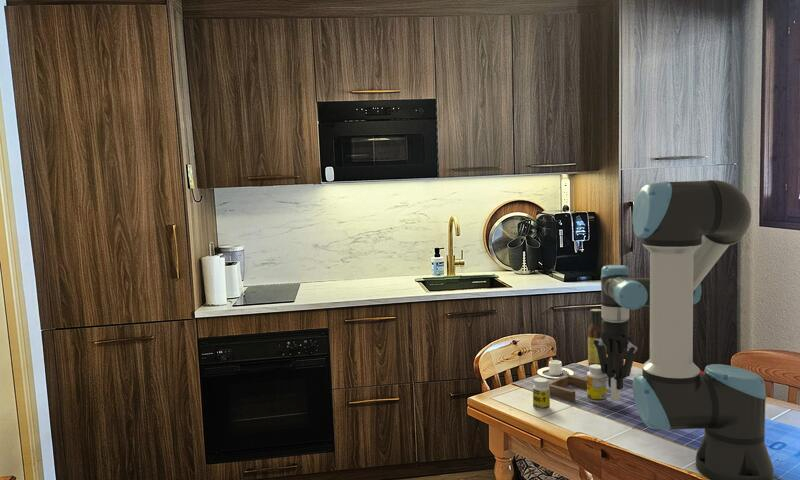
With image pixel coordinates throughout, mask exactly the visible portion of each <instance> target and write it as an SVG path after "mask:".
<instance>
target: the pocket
mask: <svg viewBox="0 0 800 480" xmlns="http://www.w3.org/2000/svg"><path fill="white" fill-rule="evenodd" d="M558 377H559V376H558ZM548 386H549V388H550V396H551V397H553V398H557V399H561V400H564V401H568V402H571V403H574V402H575V401H576V390H573V389H570V388H566V387H574V388H578V389H581V390H585V391H587V378H586V377H580V376H578V375H577V376H576V375H574V374H573V375H569V373H567V374H565V375H562V376H560V377H559V378H553V380H552V379H551V380H550V381H549V380H548Z"/></svg>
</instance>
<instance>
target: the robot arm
mask: <svg viewBox="0 0 800 480" xmlns="http://www.w3.org/2000/svg"><path fill="white" fill-rule="evenodd" d="M631 220H632V225H633V229H632V230H633V233H634V235H636V237H637V238H639V239H642V246H643V248H645V249H646V251H648V252H649V277H637V278H636V277H631V278H630V276H631V275H630V268H629V267H628V266H626V265H621V264H607V265H604V266H602V268H601V272H600V273H601V274H600V280H601V282H600V288H601V293H600V294H601V305H600V307H601V317H602V335H601V338H600V339H597V340H594V344H595V346H596V348H597V352H598V356H599V361H600V366H601V370H602V373H603V374H606V376H607V380H608V381H607V382H608V383H607V386H608V388H610V400H611V401H615V402H616V401H618V400H620V399H621V398H622V397H621V392H622V391H621V390H623V388H624V379H626V378H628V377H629V376H631V371H632V367H633V364H634V363H633V362H634V358H635V355H636V353H637V352H638V350H639V346H638V345H634V344H633V343H632V342H631V339H630V335H629V334H630V320H629V319H630V310H631V311H634V310H636V311H637V310H638V309H640V308H642V307H649V359H648V360H647V361H645V362H644V363H643V364H642V369H641V370H642V374H638V375H635V376H634V377H633V380H632V395H633V399H634V404H635V405H636V406H635V407H636V410H637V412H638V415H639V417H640V419H641V421H642V422H643V424H644V425H645V426H647V427H648V428H650V429H653V430H666V431H672V430H698V429H701V430H703V429H704V433H703V437H702V439H701V442H700V444H699V447H698V449H697V451H696V454H695V467H696V470H697V471H698V472H699V473H700V474H701V475H703V476H704V477H705V478H707V479H709V480H774V471H775V470H774V466H773V463H772V459H771V458H770V454H769V451H768V449H767V445H766V442H765V441H766V440H765V439H766V436H765V435H766V434H765V433H766V432H765V431H766V402H767V401H766V400H767V398H768V397H767V391H766V383H765V380H764V379H763V378H762V376H760V375H759V374H757V373H755V372H753V371H751V370H748V369H745V368H742V367H738V366H733V365H728V364H720V363H715V364H714V363H711V364H707V365H706V366H705V368H704V372H705V374H700V371H701V369H700V368H699V367H698V366H697V365H696V364H695V362H693V361H694V360H693V356H694V354H693V349H694V348H693V346H694V345H693V343H694V342H693V341H694V339H693V338H694V334H693V333H694V332H693V331H694V305H695V304H697V303H699V301H700V300H701V296H702V284H701V282H702V281H703V280H704V278H705V277H706V276H707V274H708V273H710V271H711V270H712V268H713V267H714V266H715V264H716V263H717V262H718V261H719V260H720V258H721V257H722V255H723V254H724V253H725V252H726V250H727V249H728V248H729V247H730V246H731V245H732V246H733V245H735V244H736V243H738V242H740V240H741V239H742V238H743V237H744V235H745V234H746V233H747V231H748V230H749V227H750V224H751V221H752V208H751V203H750V201H749V200H748V198H747V197H746V195H745V194H744V193H743V192H742V190H740V188H738V187H737V186H735V185H734V184H732V183H729V182H727V181H724V180H720V179H719V180H718V179H711V180H710V179H708V180H692V181H691V180H688V181H685V180H684V181H663V182H661V181H660V182H653V183H648V184H646V185H644V186H643V187H642V188H640V191H638V194H637V195H636V197H635V202H634V205H633V209H632V219H631ZM604 344H605V346H606V350H605V346H604ZM625 350H626V351H627V352H625ZM606 353H607V354H606ZM625 353H626V356H625Z"/></svg>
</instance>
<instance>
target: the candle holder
mask: <svg viewBox="0 0 800 480" xmlns="http://www.w3.org/2000/svg"><path fill="white" fill-rule="evenodd" d="M563 370H565V371H564V372H566V371H567V372H566V373H567V374H569V375H573V376H574V375H575V372H574V371H573V370H571V369H569V368H565V367H563V363H562V361H561V360H558V359H553V360H550V361H548V366H545V367H542V368H539V369H537V371H536V373H537V374H538V375H539V376H541V377H543V378H547V379H557V378H559V376H561V375H562V374H563V372H562V371H563ZM546 371H548V372H549V375H552V376H549V375H546V374H543V373H544V372H546ZM560 374H561V375H560ZM555 376H557V377H555Z"/></svg>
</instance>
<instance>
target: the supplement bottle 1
mask: <svg viewBox="0 0 800 480" xmlns="http://www.w3.org/2000/svg"><path fill="white" fill-rule="evenodd" d="M548 382H549V378H547V377H536V378H534V379H533V384H534V385H533V386H532V407H533V408H534V409H535V410H536V411H548V410H549V409H550V407H551V403H550V402H551V400H550V398H551V397H550V388H549V386H548Z"/></svg>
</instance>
